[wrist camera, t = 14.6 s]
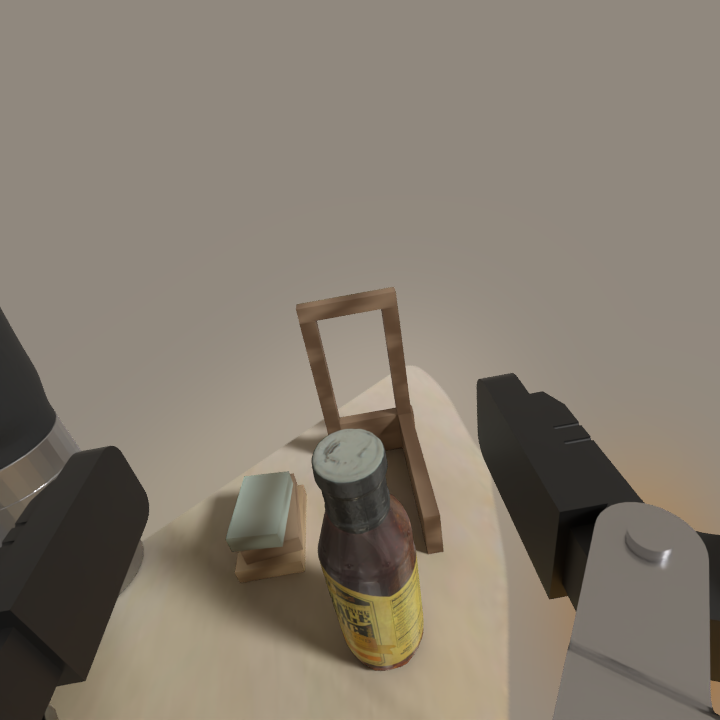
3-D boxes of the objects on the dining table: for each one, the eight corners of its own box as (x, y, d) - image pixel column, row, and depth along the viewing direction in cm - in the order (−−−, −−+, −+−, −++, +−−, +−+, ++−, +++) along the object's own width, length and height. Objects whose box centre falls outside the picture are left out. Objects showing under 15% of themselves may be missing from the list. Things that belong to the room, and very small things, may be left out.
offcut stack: (240, 584, 40) (221, 547, 38) (252, 505, 48) (237, 470, 45) (307, 572, 40) (293, 534, 37) (309, 495, 48) (297, 459, 45)
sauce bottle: (333, 621, 36) (268, 439, 26) (397, 579, 38) (361, 396, 28) (374, 701, 31) (314, 516, 20) (445, 647, 33) (424, 455, 23)
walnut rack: (339, 569, 40) (286, 396, 30) (334, 451, 53) (296, 303, 43) (446, 551, 40) (430, 371, 29) (415, 437, 53) (396, 285, 43)
